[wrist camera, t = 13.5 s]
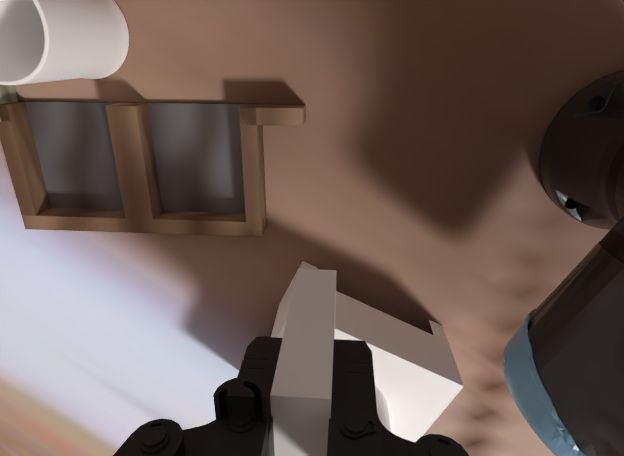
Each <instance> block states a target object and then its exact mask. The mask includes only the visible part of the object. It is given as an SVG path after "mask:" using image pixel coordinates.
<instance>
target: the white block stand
mask: <svg viewBox="0 0 624 456" xmlns="http://www.w3.org/2000/svg"><path fill="white" fill-rule="evenodd" d="M298 269H318V268H317V267H314V266H312V265H310V264H308V263H306V262H304V261H302V263H301V265H300V267H299V268H298ZM296 275H297V272H296V274H295V276H294V278H293V279H292V281H291V283H290V285H289V287H288V289H287V291H286V292H285V294H284V296H283V298H282V300H281V302H280V304H279V307H278V311H277V315H276V319H275V323H274V327H273V330H272V334H271V337H276V338H283V334H284V330H285V325H286V321H287V316H288V311H289V307H290V302H291V298H292V293H293V288H294V284H295V279H296ZM429 322H430V325H431V329H432V332H433V335H431V334H429V333H427V332H425V331H423V330H421V329H418V328H416V327H414V326H412V325H410V324H407V323H405V322H403V321H401V320H399V319H397V318H394V317H392V316H390V315H388V314H386V313H384V312H381V311H379V310H377V309H375V308H373V307H371V306H368V305H366V304H364V303H362V302H360V301H358V300H355V299H353V298H351V297H349V296H347V295H345V294H342V293H340V292H338V291H336V307H335V339H340V340H361V341H365V342H366V343H367V345H368V346H369V348H370V349H371V351H372V358H373V369H374V381H375V392H376V404H377V413H378V417H379V419H380V421H381V423H382V424H383V425H384V426H385V428H386V429H387V430H389V431H390V432H391V433H393V434H394V435H397V436H399V437H401V438H403V439H406V440H409V441H412V442H416V441H417V440H418V439H419V438H420V437H422V436H423V435H424V433H425V432H426V431H427V430H428V429H429V427H430V426H431V425H432V424H433V423H434V421H435V420H436V419H437V418H438V417H439V415H440V414H441V413H442V412H443V411H444V410H445V408H446V407H447V406H448V405H449V404H450V402H451V401H452V400H453V399H454V398H455V396H456V395H457V394H458V393H459V392H460V390H461V389H462V388H463V387H464V385H463V382H462V380H461V377H460V374H459V371H458V368H457V365H456V362H455V360H454V357H453V354H452V351H451V348H450V345H449V342H448V340H447V337H446V334H445V331H444V328H443V326H441V325H439V324H437V323H435V322H433V321H431V320H429Z"/></svg>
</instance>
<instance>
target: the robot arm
mask: <svg viewBox="0 0 624 456" xmlns="http://www.w3.org/2000/svg"><path fill="white" fill-rule="evenodd" d="M539 167H540V176H541V180H542V183H543V186H544V188H545V191H546V192H547V194H548V196H549V197H550V199H551V200H552V201H553V202H554V203H555V204H556V205H557V206H558V207H559V208H560V209H561V210H563V211H564V212H566V213H567V214H568V215H570V216H571V217H573V218H574V219H576V220H578V221H580V222H582V223H584V224H587V225H589V226H592V227H596V228H601V229H608V230H610V231H609V232H608V233H607V234H606V236H605V237H604V238H603V239H602V240H601V241H600V242H598V243H597V244H596V246H595V247H594V248H593V249H592V250H591V251H590V252H589V253H588V254H587V255H586V256H585V258H584V259H583V260H582V261H581V262H580V263H579V264H578V265H577V266H576V267H575V268H574V269H573V271H572V272H571V273H570V274H569V275H568V276H567V277H566V278H565V279H564V280H563V281H562V282H561V284H560V285H559V286H558V287H557V288H556V289H555V290H554V291H553V292H552V293H551V294H550V295H549V296H548V297H547V298H546V299H545V300H544V301H543V302H542V304H541V305H540V306H539V307H538V308H537V309H534V310H533V311H531V312H530V313H529V314H528V315H527V317H526V318H525V321H524V324H523V325H522V326H521V327H520V329H519V330H518V331H517V332H516V334H515V335H514V336H513V337H512V338H511V340H510V341H509V342H508V344H507V345H506V347H505V350H504V353H503V366H504V376H505V379H506V383H507V385H508V388H509V390H510V393H511V395H512V397H513V399H514V401H515V403H516V405H517V406H518V408H519V410H520V411H521V413H522V415H523V416H524V418H525V419H526V420H527V422H528V423H529V425H530V426H531V428H532V429H533V430H534V432H535V433H536V434H537V435H538V437H539V438H540V439H541V440H542V442H543V443H544V444H545V445H546V446H547V447H548V448H549V449H550V450H551V451H552V452H553V453H554V454H555V455H556V456H624V71H620V72H616V73H613V74H610V75H608V76H605V77H603V78H601V79H599V80H597V81H595V82H593V83H591V84H590V85H588V86H586V87H585V88H584V89H582V90H581V91H579V92H578V93H577V94H576V95H574V96H573V97H572V98H571V99H570V100H569V101H568V102H567V103H566V104H565V105H564V106H563V108H562V109H561V110H560V111H559V112H558V114H557V115H556V117H555V118H554V120H553V121H552V123H551V125H550V126H549V128H548V130H547V132H546V135H545V137H544V140H543V143H542V147H541V152H540V162H539ZM336 271H337V270H318V269H298V270H297V275H296V279H295V284H294V288H293V293H292V298H291V302H290V307H289V311H288V316H287V321H286V325H285V330H284V334H283V338H276V337H256V338H255V339H254V340H253V341H252V342H251V343H250V344H249V345H248V347H247V350H246V353H245V356H244V360H243V362H242V365H241V369H240V371H239V374H238V377H237V378H234V379H231V380H229V381H226V382H225V383H223V384H222V385H221V386H219V387H218V388H217V390H216V391H215V393H214V395H213V396H214V404H215V413H216V420H214V421H212V422H211V423H209V424H206V425H203V426H200V427H195V428H191V429H186V430H182V429H181V427H180V425H179V424H178V423H176V422H174V421H173V420H169V419H158V420H153V421H150V422H148V423H146V424H144V425H142V426H140V427H139V428H138V429H137V430H135V431H134V432H133V433H132V434H131V435H130V436H129V438H128V439H127V440H126V441H125V442H124V443H123V445H122V446H121V447H120V448H119V449H118V451H117V452H116V453H115V454H114V455H113V456H469V455H468V453H467V452H466V451H465V450H464V448H463V447H462V446H461V445H460V444H459V443H457V442H456V441H454V440H453V439H451V438H449V437H446V436H443V435H439V434H429V435H426V436H423V437H420V438H419V439H418V440H417V441H416V442H412V441H409V440H406V439H403V438H401V437H399V436H397V435H394V434H393V433H391V432H390V431H389V430H387V429H386V428H385V426H384V425H383V424H382V423H381V421H380V419H379V417H378V413H377V404H376V392H375V381H374V369H373V358H372V351H371V349H370V348H369V346H368V345H367V343H366V342H365V341H361V340H340V339H335V307H336Z"/></svg>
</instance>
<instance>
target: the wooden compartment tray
mask: <svg viewBox="0 0 624 456" xmlns="http://www.w3.org/2000/svg"><path fill="white" fill-rule="evenodd" d="M304 123H305V105H301V104H213V103H126V102H38V101H18V98H17V94H16V90H15V86H14V85H1V84H0V139H1V143H2V146H3V150H4V153H5V157H6V160H7V164H8V168H9V171H10V175H11V178H12V182H13V186H14V189H15V193H16V196H17V200H18V203H19V207H20V211H21V214H22V218H23V221H24V225H25V229H41V230H72V231H104V232H135V233H166V234H197V235H228V236H260V237H262V235H263V233H264V231H265V228H266V226H267V221H266V197H265V173H264V149H263V125H278V126H303V124H304Z"/></svg>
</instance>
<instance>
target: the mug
mask: <svg viewBox="0 0 624 456" xmlns="http://www.w3.org/2000/svg"><path fill="white" fill-rule="evenodd" d="M128 48H129V32H128V27H127V24H126V21H125V18H124V16H123V14H122V12H121V10H120V8H119V7H118V5H117V4H116V3H115V1H114V0H0V84H1V85H20V84H30V83H39V82H48V81H57V80H66V79H76V78H87V79H100V78H104V77H107V76H109V75H111V74H113V73H114V72H116V71H117V70H118V69H119V68H120V67H121V65H122V64H123V62H124V60H125V58H126V56H127V53H128Z"/></svg>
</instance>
